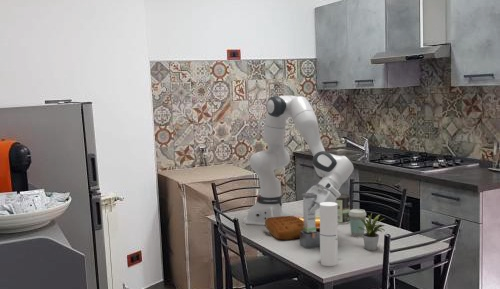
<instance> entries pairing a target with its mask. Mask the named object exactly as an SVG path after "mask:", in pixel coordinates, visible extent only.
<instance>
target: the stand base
mask: <svg viewBox="0 0 500 289" xmlns="http://www.w3.org/2000/svg"><path fill="white" fill-rule="evenodd" d="M299 244H300V246H302V247H303V248H304V249H307V250H308V249H314V248H320V232H318V231H317V230H316V233H311V234H305V233H304V230H303V231H300V237H299Z"/></svg>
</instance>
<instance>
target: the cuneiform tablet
mask: <svg viewBox="0 0 500 289" xmlns="http://www.w3.org/2000/svg"><path fill="white" fill-rule="evenodd" d="M264 226H265V227H266V229H267V231H268V232H269V233H270V234H271V235H272V237H274V238H275V239H277V240H284V241H285V240H290V241H291V240H293V239H300V231H303V230H304V229H303V226H304V220H302V219H300V218H299V217H297V216H294V215H283V216H280V217H271V218H268V219H266V221H265V225H264Z"/></svg>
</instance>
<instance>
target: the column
mask: <svg viewBox="0 0 500 289" xmlns="http://www.w3.org/2000/svg"><path fill="white" fill-rule="evenodd" d="M300 196H301V197H302V204H303V205H302V206H303V207H302V208H303V210H302V211H303V212H302V214H303V218H302V219H303V222H304V226H303V229H304V233H305V234H311V233H316V231H317V227H316V211H314V213H311V212H310V211H309V209H310V208H312V207H314V206H315V202H314V201H315V198H317V195H316V194H314V193H306V192H304V193H301V195H300Z"/></svg>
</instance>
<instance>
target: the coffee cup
mask: <svg viewBox="0 0 500 289" xmlns="http://www.w3.org/2000/svg"><path fill="white" fill-rule="evenodd" d="M364 216H365V217H364ZM366 216H367V212H366V210H365V209H361V208H353V209H350V211H349V218H350V222H349V227H350V234H351V236H353V237H360V238H361V237H363V234H364V233H365V230H363V229H362V228H358V227H363V228H364V229H366V227H365V225H364V223H363V222H362V221H361V220H362V219H364V220H365V221H366V219H367V217H366ZM357 217H358V218H357ZM360 217H361V218H362V219H361V218H360ZM359 218H360V219H359Z"/></svg>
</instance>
